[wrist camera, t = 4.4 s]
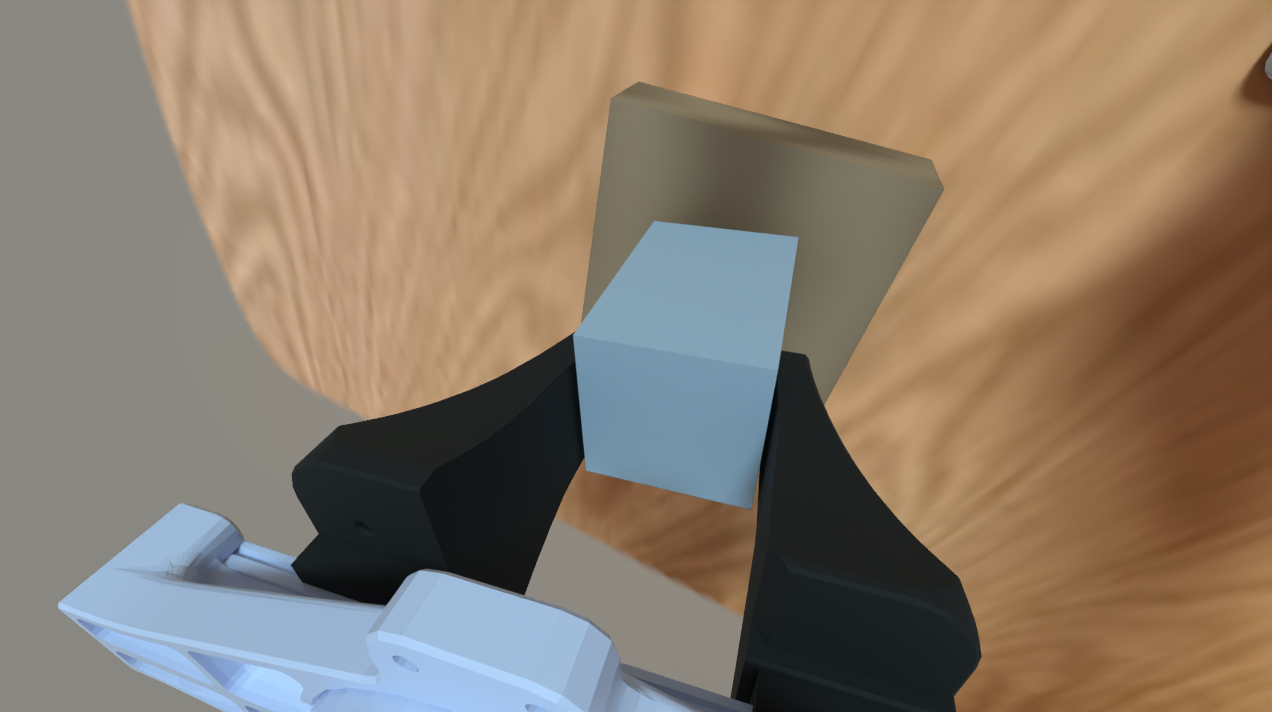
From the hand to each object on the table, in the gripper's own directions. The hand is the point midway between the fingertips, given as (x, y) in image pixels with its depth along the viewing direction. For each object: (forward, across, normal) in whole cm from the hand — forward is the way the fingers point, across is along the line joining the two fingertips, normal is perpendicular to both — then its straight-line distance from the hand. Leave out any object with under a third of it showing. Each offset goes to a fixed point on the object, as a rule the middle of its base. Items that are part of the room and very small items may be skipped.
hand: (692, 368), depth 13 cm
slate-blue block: (+3, 0, 0) cm, 4 cm away
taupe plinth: (+8, 0, 0) cm, 8 cm away
